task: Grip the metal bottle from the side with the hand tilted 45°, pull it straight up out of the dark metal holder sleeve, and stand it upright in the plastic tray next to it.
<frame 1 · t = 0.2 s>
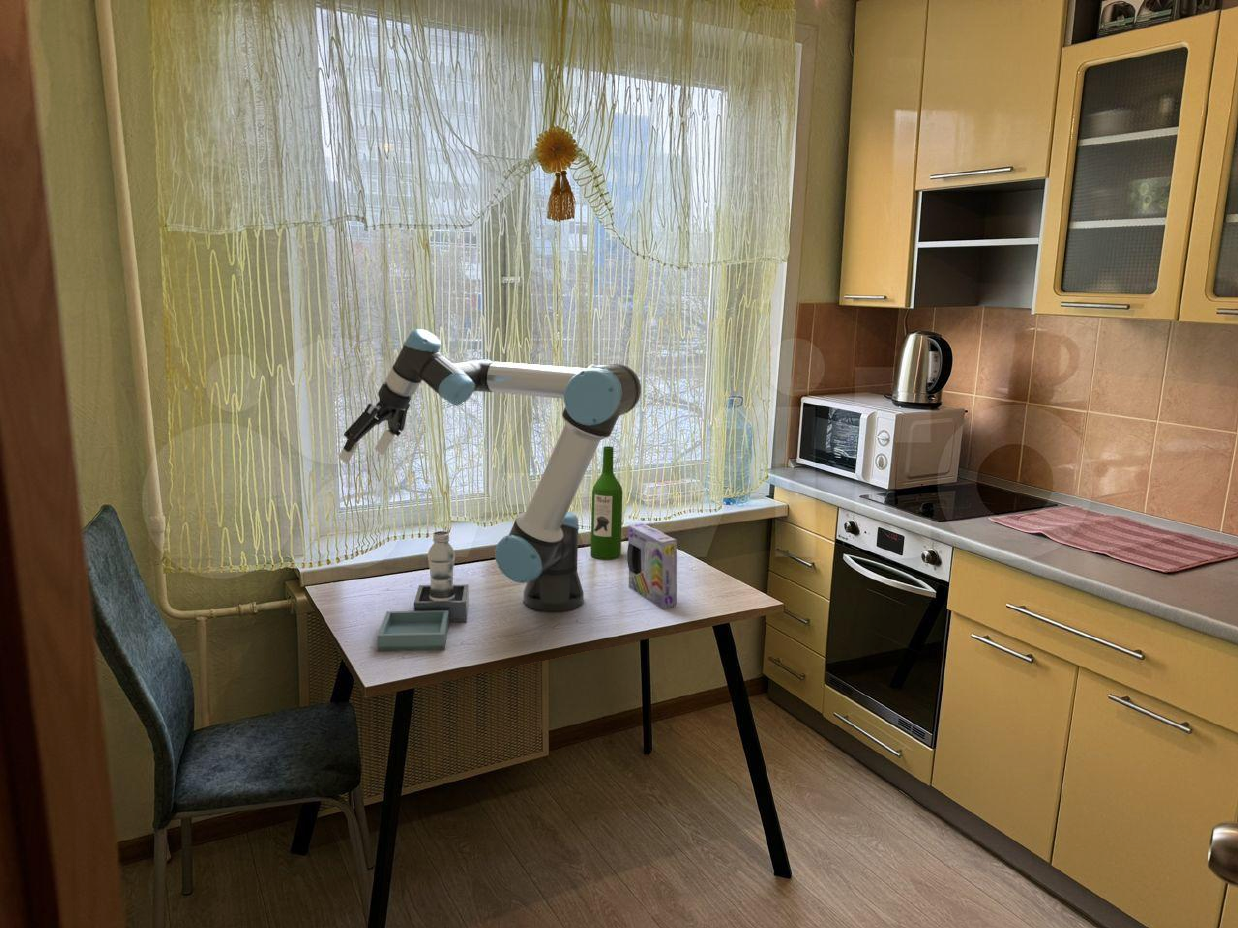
hand: (361, 456, 215), 35 cm above the table, tool tilted 35°, fingers open, 13 cm apart
tray: (414, 637, 193), on the table
purple product box: (650, 597, 223), on the table
wine bottle: (605, 556, 255), on the table
holder sleeve: (442, 613, 207), on the table
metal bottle: (442, 613, 207), resting in holder sleeve
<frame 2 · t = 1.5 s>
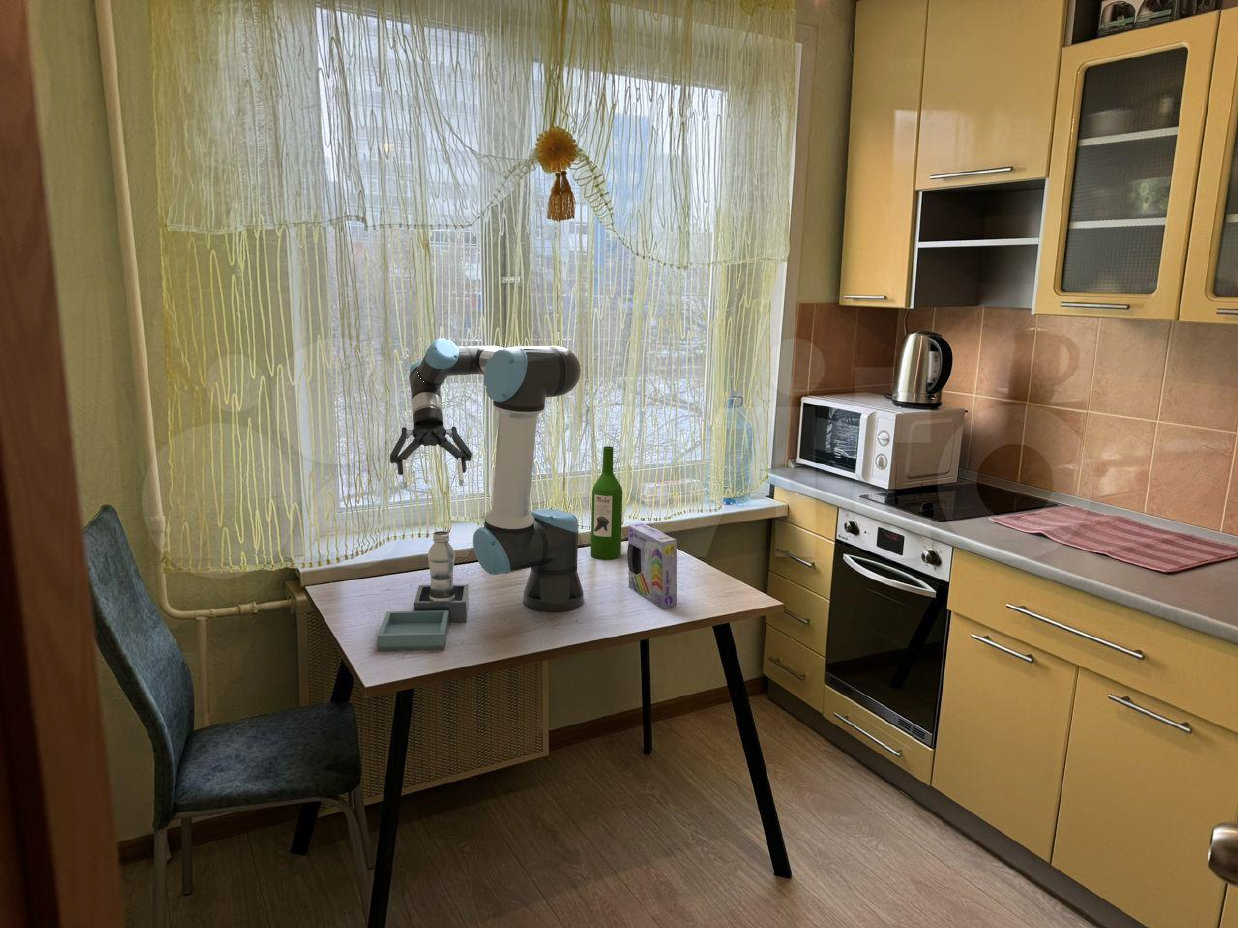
hand: (433, 484, 213), 29 cm above the table, tool tilted 45°, fingers open, 13 cm apart
nothing on the table moved.
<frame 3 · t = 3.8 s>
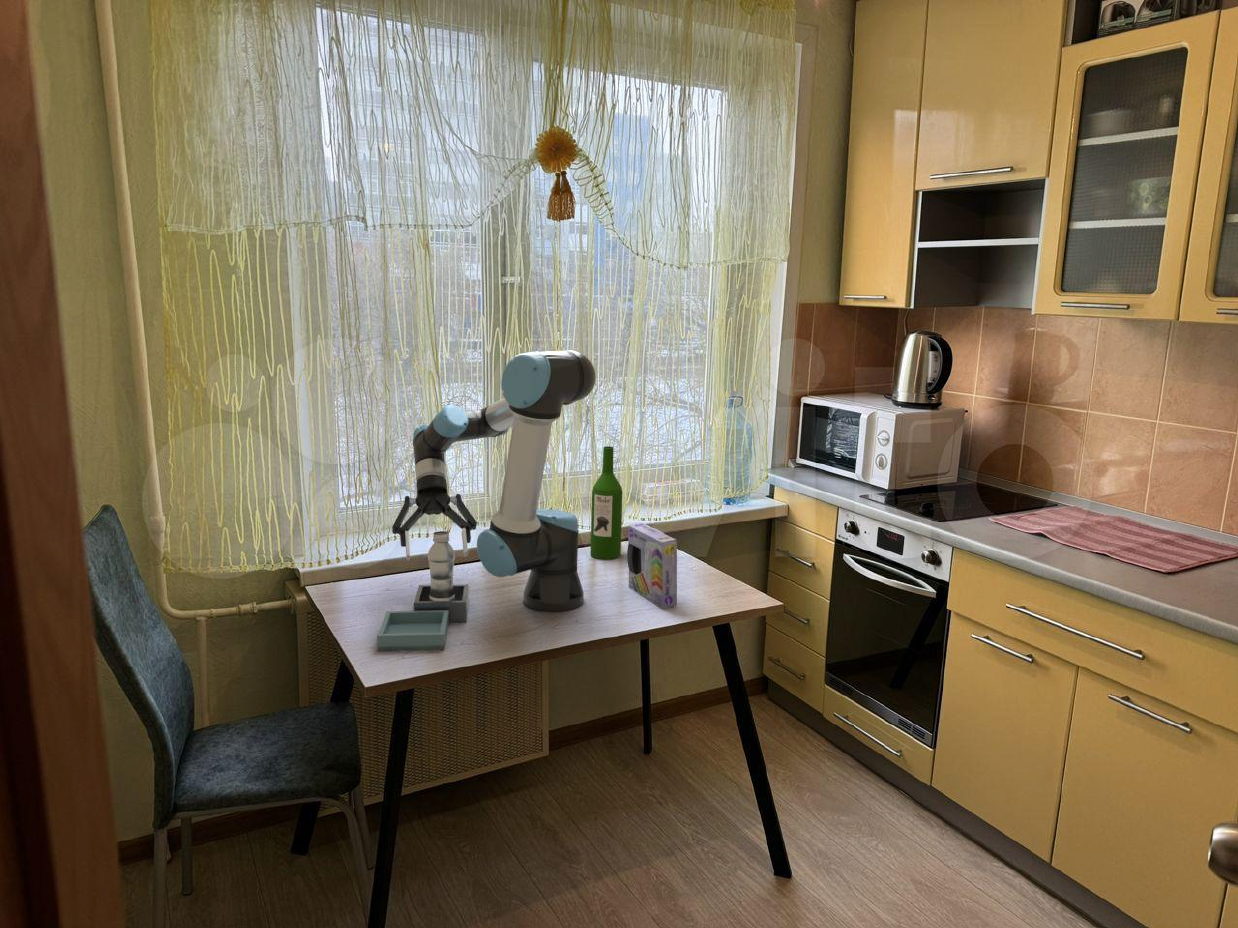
hand: (437, 556, 207), 13 cm above the table, tool tilted 45°, fingers open, 13 cm apart
nothing on the table moved.
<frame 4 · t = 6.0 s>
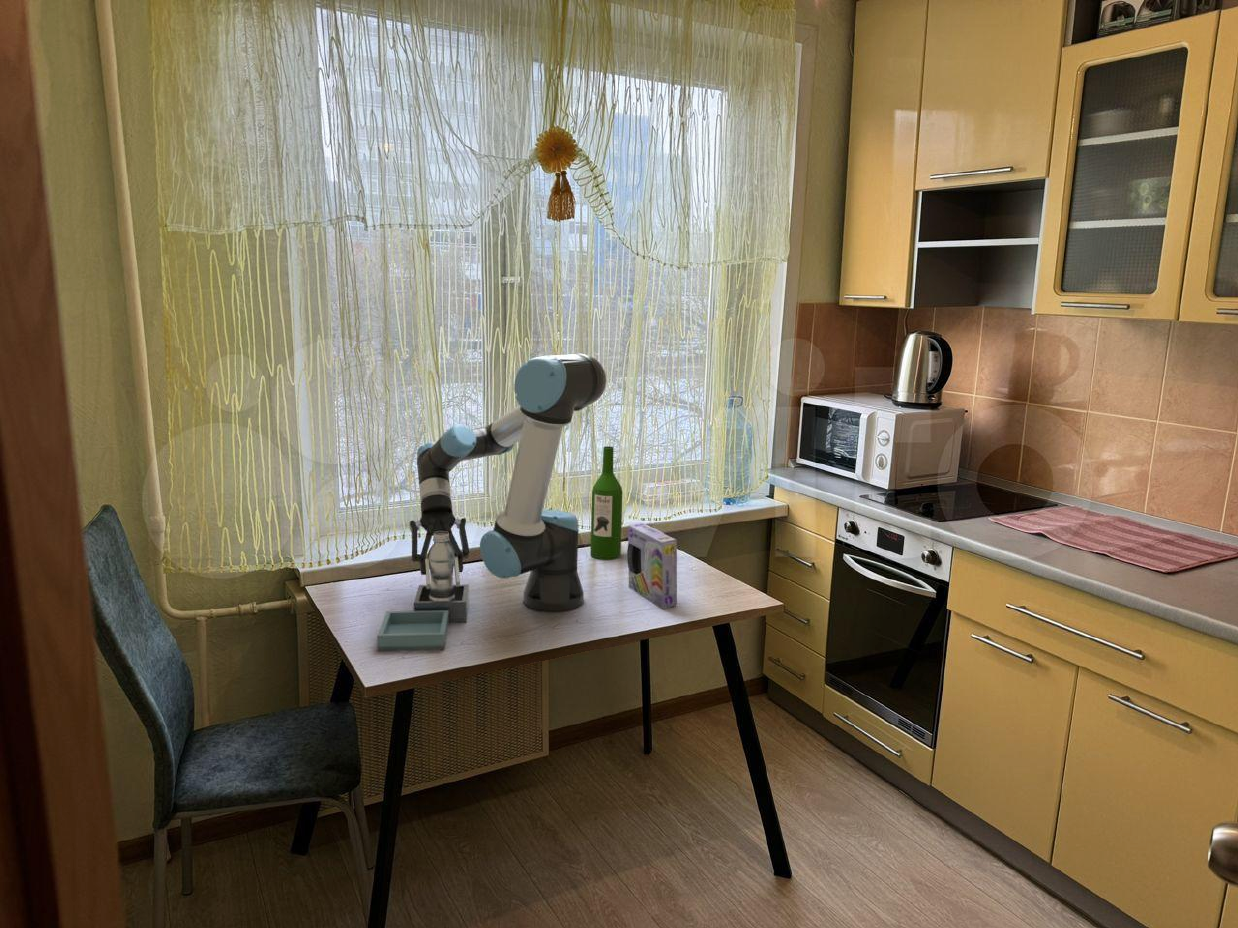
hand: (443, 585, 202), 8 cm above the table, tool tilted 45°, fingers closed on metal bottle, 6 cm apart
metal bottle: (442, 613, 207), resting in holder sleeve, touching gripper
everything else where it was.
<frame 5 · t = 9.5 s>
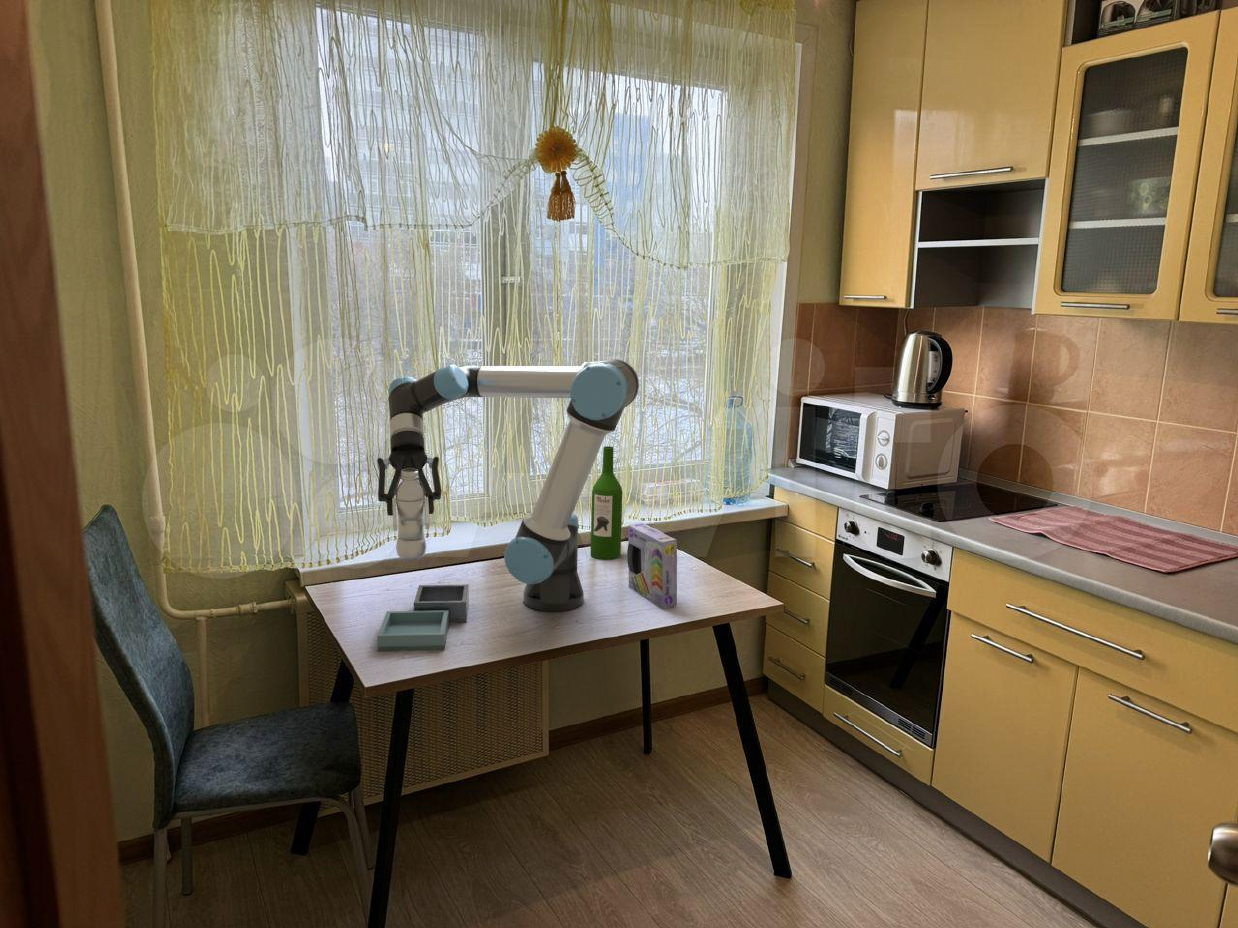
hand: (411, 526, 185), 26 cm above the table, tool tilted 45°, fingers closed on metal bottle, 6 cm apart
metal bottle: (411, 559, 191), point 18 cm above the table, touching gripper
everything else where it was.
when the fingers open (11 cm above the table, at t = 13.3 s): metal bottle drops 1 cm, resting on tray.
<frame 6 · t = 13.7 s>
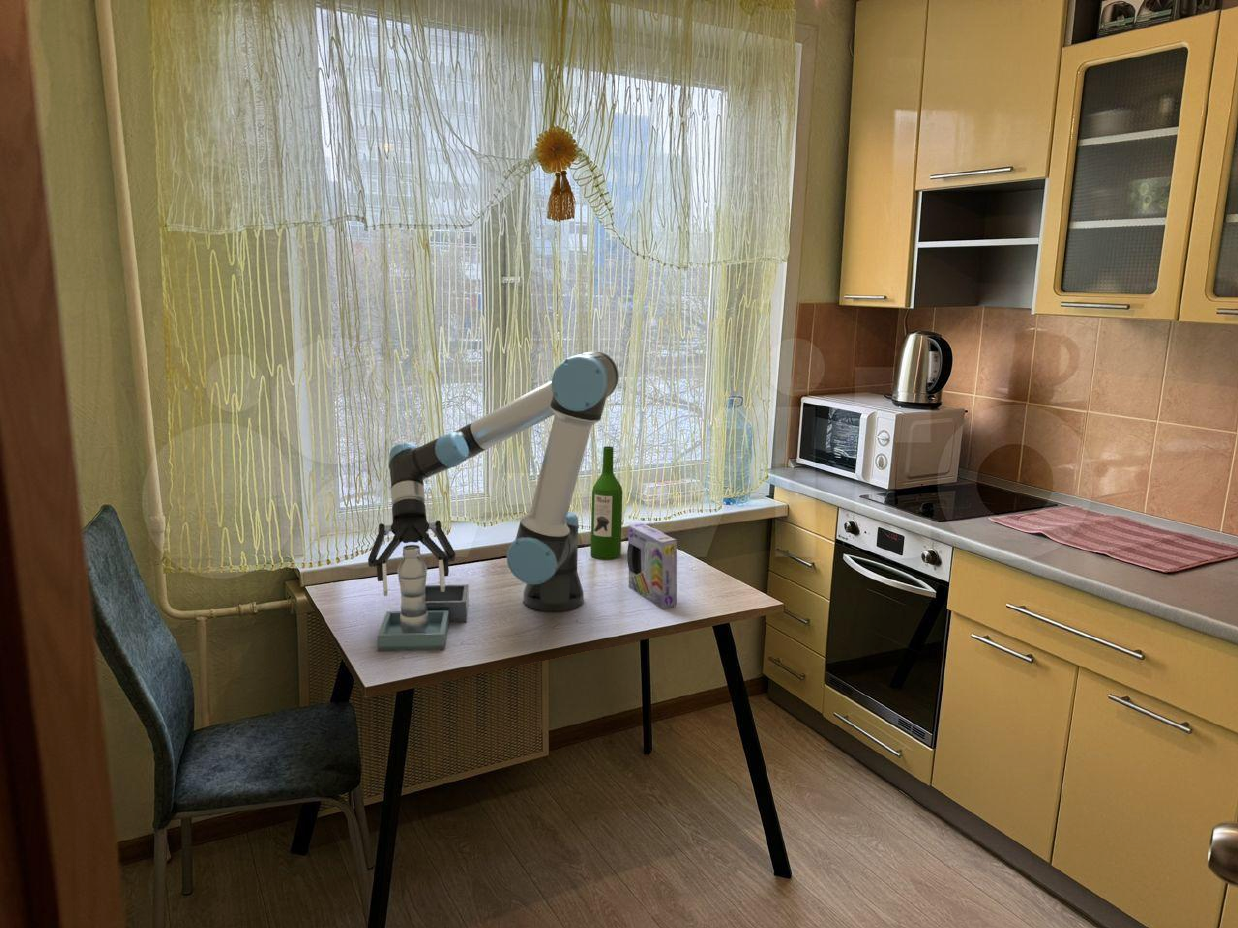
hand: (414, 591, 188), 12 cm above the table, tool tilted 45°, fingers open, 11 cm apart
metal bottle: (414, 633, 193), point 1 cm above the table, touching tray
everything else where it was.
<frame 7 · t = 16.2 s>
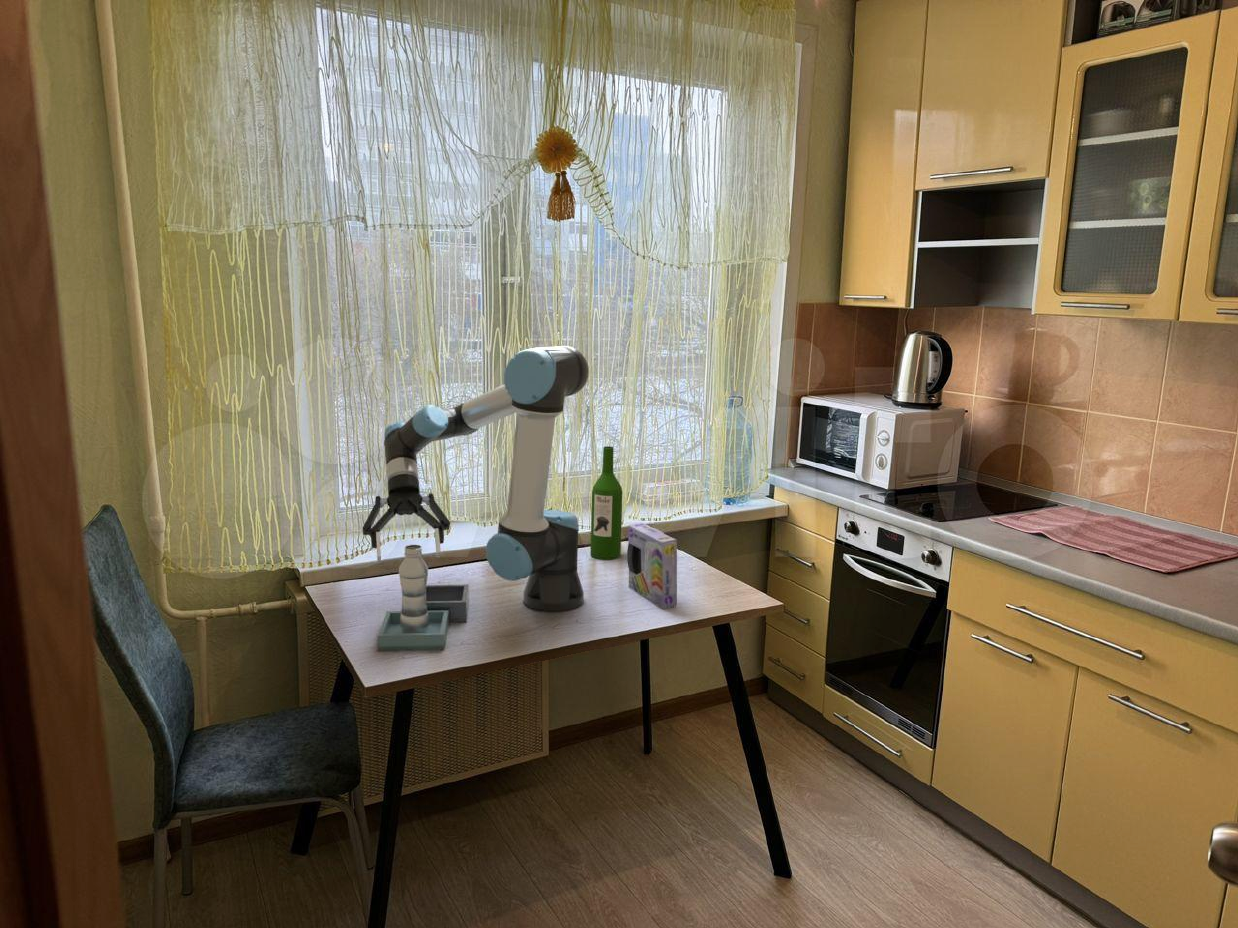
hand: (409, 557, 202), 15 cm above the table, tool tilted 45°, fingers open, 13 cm apart
nothing on the table moved.
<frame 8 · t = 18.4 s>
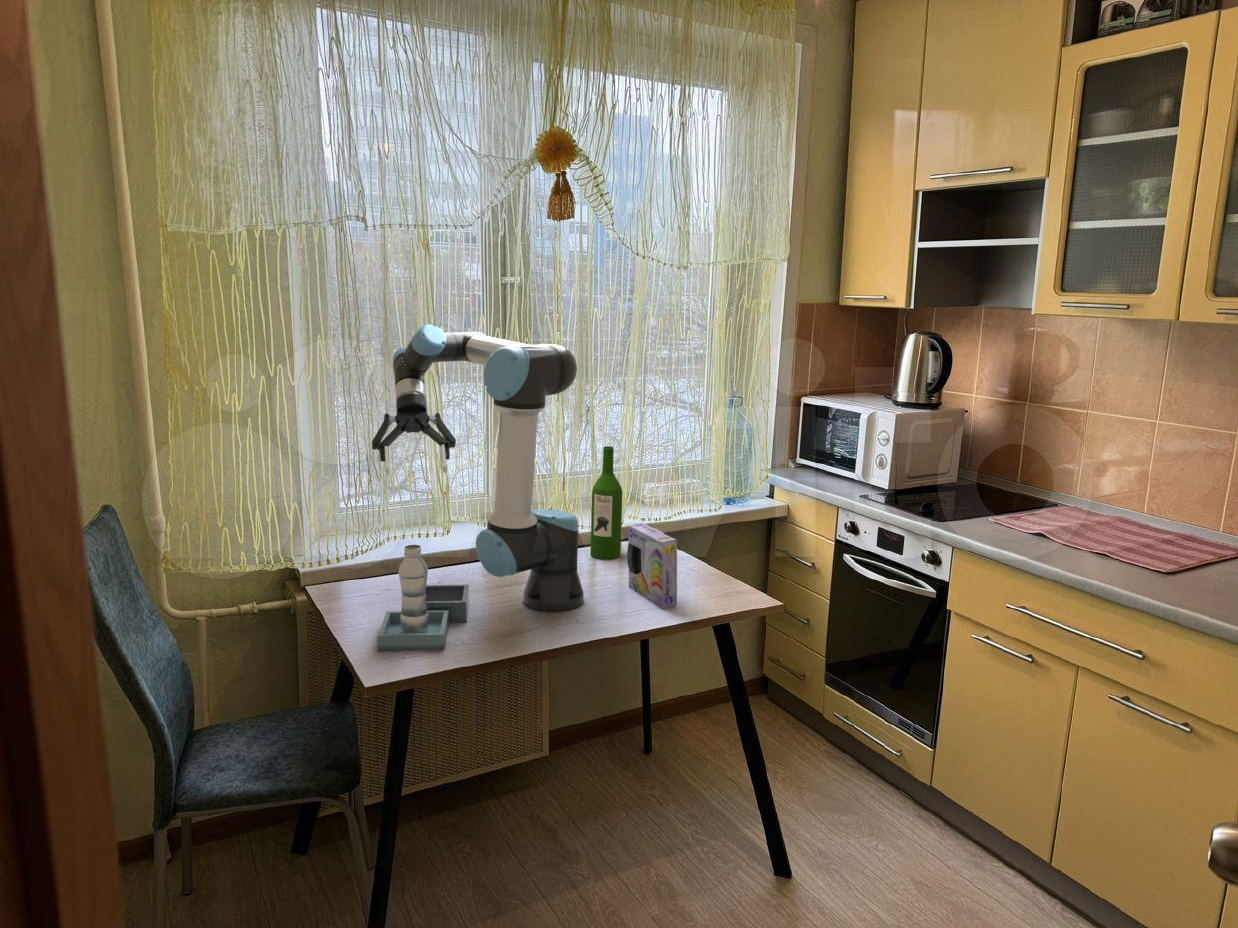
hand: (416, 470, 210), 33 cm above the table, tool tilted 45°, fingers open, 13 cm apart
nothing on the table moved.
at the end: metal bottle inside the target area on the tray (0.1 cm from its centre), point 0.8 cm above the tray's base; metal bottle tilted 0°; the gripper is holding nothing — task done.
